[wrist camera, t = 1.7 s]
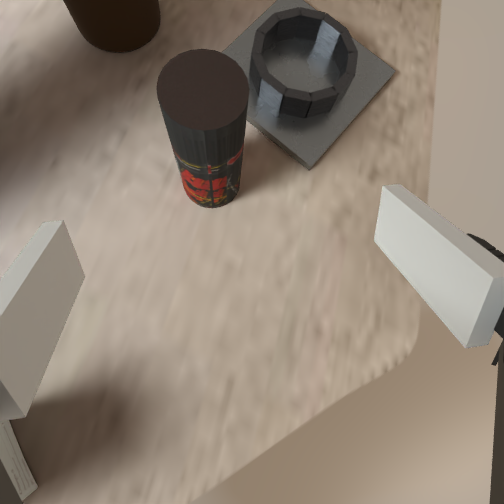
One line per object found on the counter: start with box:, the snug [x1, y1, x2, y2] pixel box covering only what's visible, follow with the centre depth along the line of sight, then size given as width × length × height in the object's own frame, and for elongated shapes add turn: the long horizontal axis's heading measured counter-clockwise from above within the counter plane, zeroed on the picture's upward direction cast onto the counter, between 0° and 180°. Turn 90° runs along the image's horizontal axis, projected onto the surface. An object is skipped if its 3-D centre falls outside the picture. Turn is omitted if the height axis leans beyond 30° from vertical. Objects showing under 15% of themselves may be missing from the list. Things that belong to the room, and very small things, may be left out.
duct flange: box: [222, 0, 395, 170], centre depth 39 cm, size 16×16×4 cm
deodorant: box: [157, 49, 250, 208], centre depth 30 cm, size 6×6×15 cm
